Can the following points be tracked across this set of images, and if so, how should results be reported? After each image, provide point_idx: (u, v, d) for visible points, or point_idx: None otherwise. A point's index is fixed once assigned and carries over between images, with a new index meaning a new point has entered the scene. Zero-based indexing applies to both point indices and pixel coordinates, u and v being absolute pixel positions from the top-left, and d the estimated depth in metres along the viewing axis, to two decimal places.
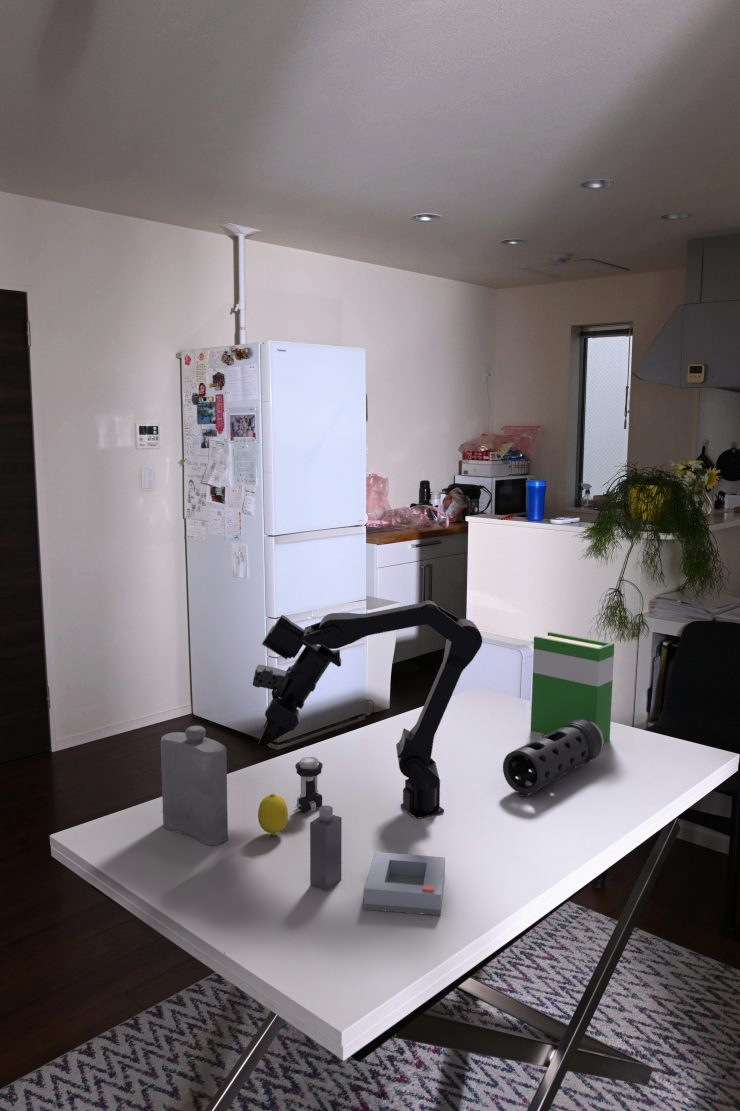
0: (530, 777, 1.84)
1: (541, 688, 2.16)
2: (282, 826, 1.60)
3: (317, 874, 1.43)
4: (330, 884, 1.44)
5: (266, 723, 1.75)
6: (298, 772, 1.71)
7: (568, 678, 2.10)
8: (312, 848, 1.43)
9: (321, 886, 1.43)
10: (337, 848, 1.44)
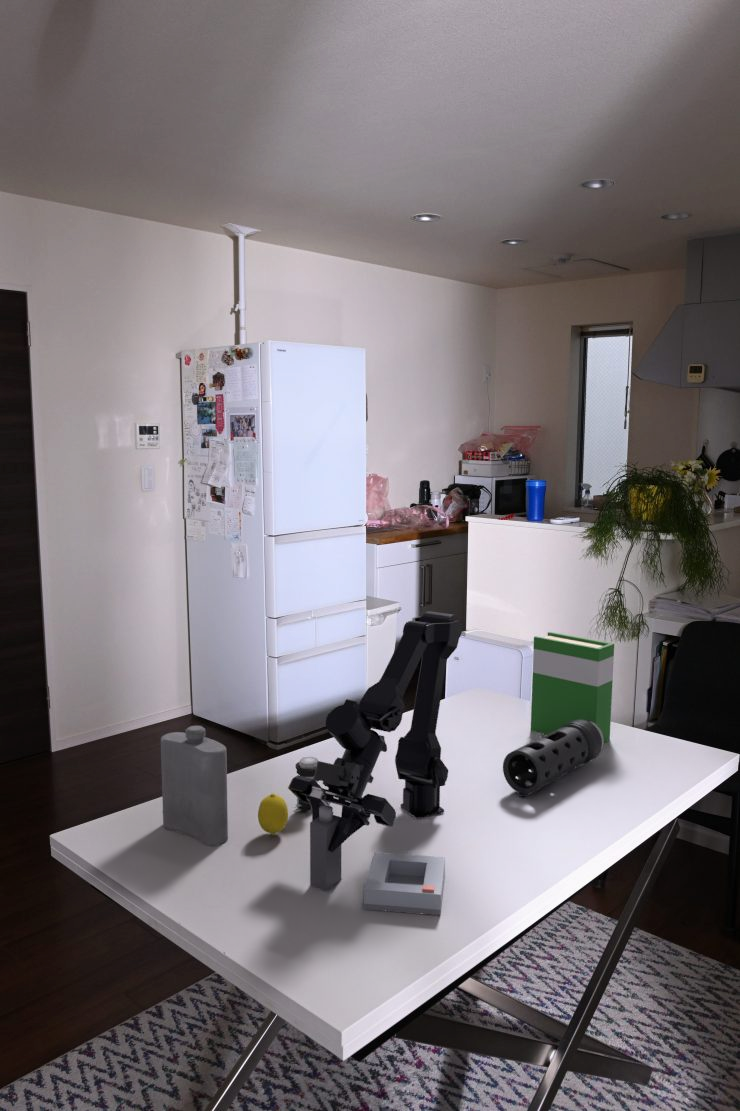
0: (530, 777, 1.84)
1: (541, 688, 2.16)
2: (282, 826, 1.60)
3: (317, 874, 1.43)
4: (330, 884, 1.44)
5: None
6: (298, 772, 1.71)
7: (568, 678, 2.10)
8: (312, 848, 1.43)
9: (321, 886, 1.43)
10: (337, 848, 1.44)
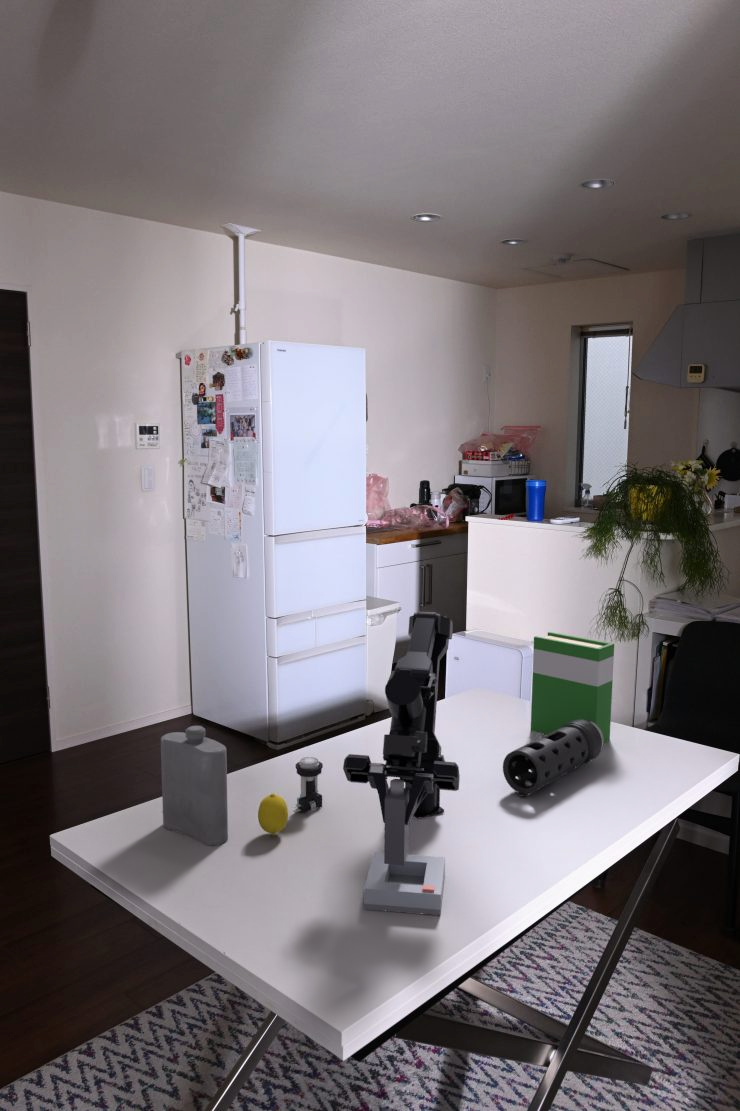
0: (530, 777, 1.84)
1: (541, 688, 2.16)
2: (282, 826, 1.60)
3: (393, 850, 1.39)
4: (405, 858, 1.40)
5: None
6: (298, 772, 1.71)
7: (568, 678, 2.10)
8: (387, 824, 1.39)
9: (398, 861, 1.39)
10: None
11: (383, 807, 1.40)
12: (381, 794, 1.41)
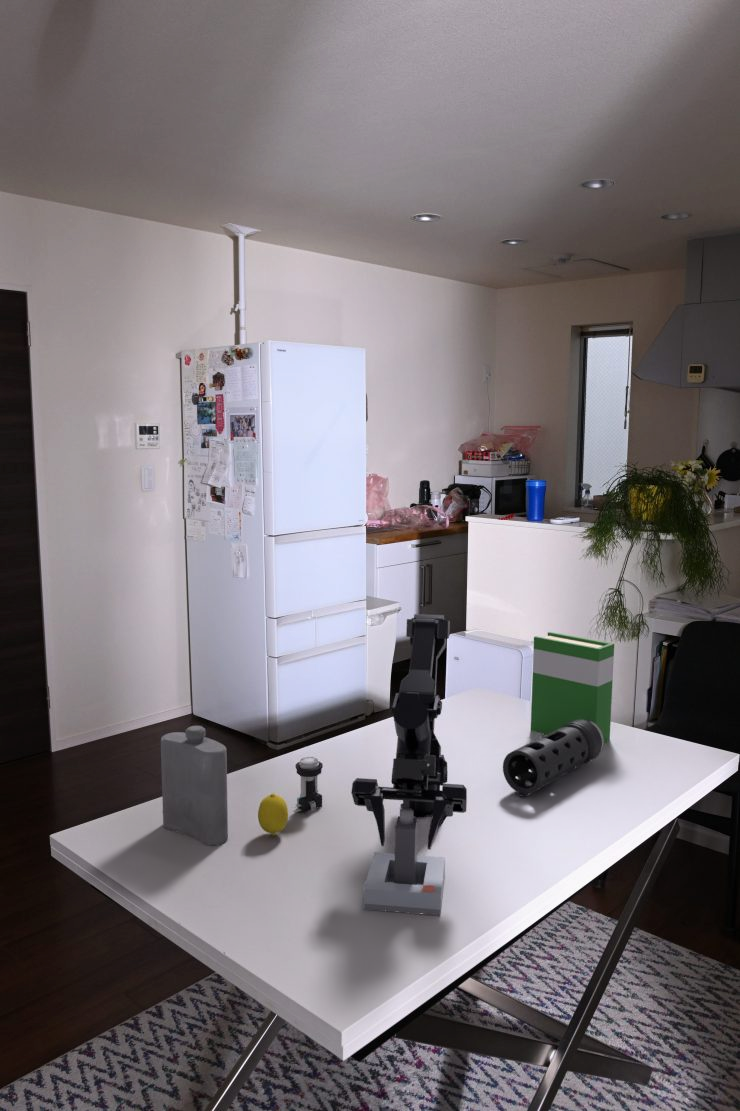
0: (530, 777, 1.84)
1: (541, 688, 2.16)
2: (282, 826, 1.60)
3: (403, 879, 1.40)
4: None
5: (384, 837, 1.41)
6: (298, 772, 1.71)
7: (568, 678, 2.10)
8: (397, 854, 1.39)
9: None
10: (416, 849, 1.42)
11: (381, 830, 1.41)
12: (378, 817, 1.42)
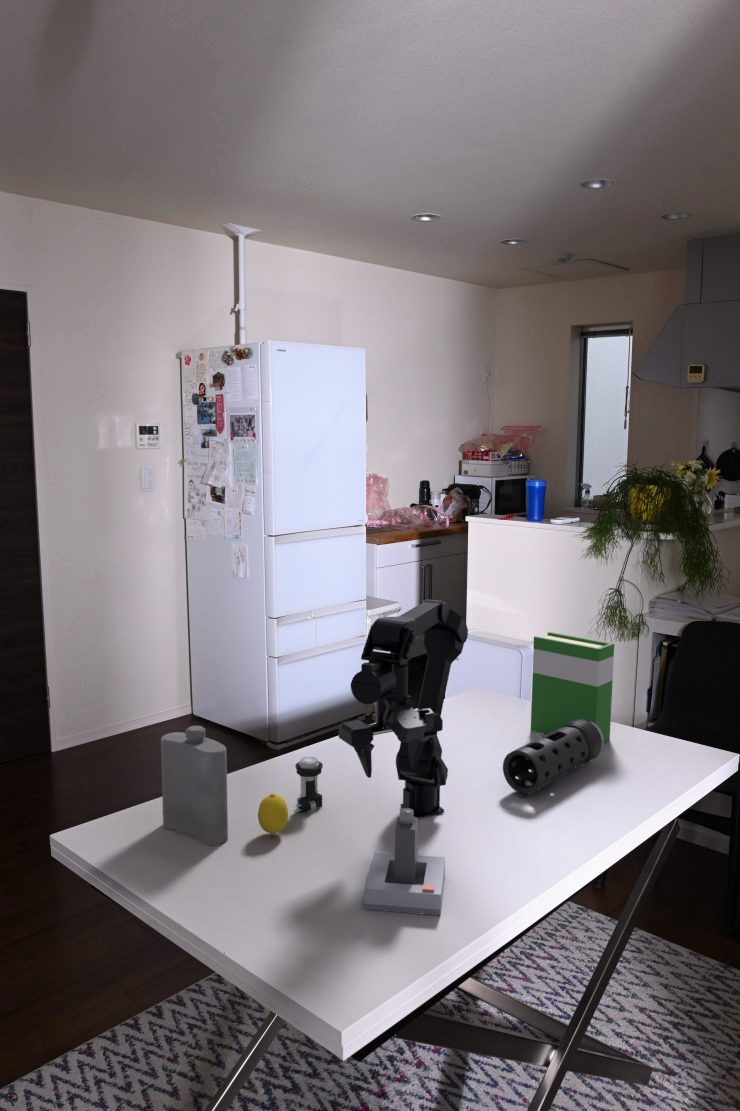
0: (530, 777, 1.84)
1: (541, 688, 2.16)
2: (282, 826, 1.60)
3: (403, 880, 1.40)
4: None
5: None
6: (298, 772, 1.71)
7: (568, 678, 2.10)
8: (397, 854, 1.39)
9: None
10: (416, 849, 1.42)
11: (369, 768, 1.55)
12: (367, 758, 1.54)
